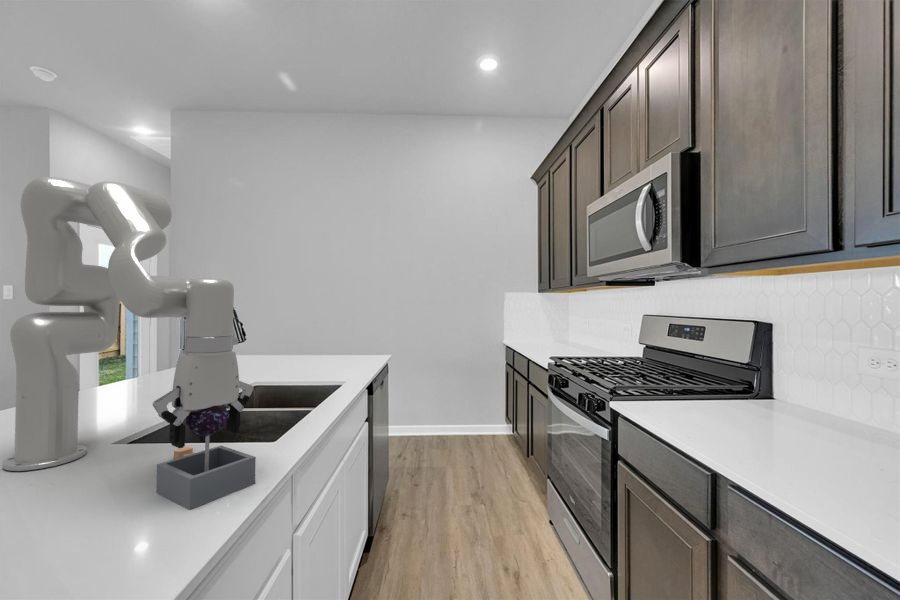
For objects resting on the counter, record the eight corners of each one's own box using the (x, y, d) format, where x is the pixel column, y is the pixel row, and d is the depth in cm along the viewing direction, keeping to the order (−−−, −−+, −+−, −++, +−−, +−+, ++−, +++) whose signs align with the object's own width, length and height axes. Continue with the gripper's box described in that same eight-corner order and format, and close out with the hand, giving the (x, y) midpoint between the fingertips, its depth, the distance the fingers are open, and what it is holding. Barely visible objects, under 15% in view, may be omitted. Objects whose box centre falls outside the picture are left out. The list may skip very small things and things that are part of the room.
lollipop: (218, 471, 78) (220, 394, 79) (233, 481, 74) (235, 400, 74) (178, 482, 73) (180, 400, 73) (191, 494, 69) (194, 406, 69)
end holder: (156, 492, 72) (156, 464, 72) (220, 470, 81) (221, 445, 81) (189, 509, 66) (190, 479, 66) (255, 483, 75) (255, 456, 76)
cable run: (171, 457, 88) (171, 447, 88) (191, 453, 90) (191, 443, 90) (186, 481, 76) (186, 470, 76) (209, 476, 79) (209, 464, 79)
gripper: (242, 341, 83) (240, 423, 83) (145, 348, 68) (142, 448, 68) (264, 343, 79) (262, 430, 79) (166, 351, 65) (163, 458, 64)
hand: (206, 438), depth 74 cm, fingers open, 9 cm apart
